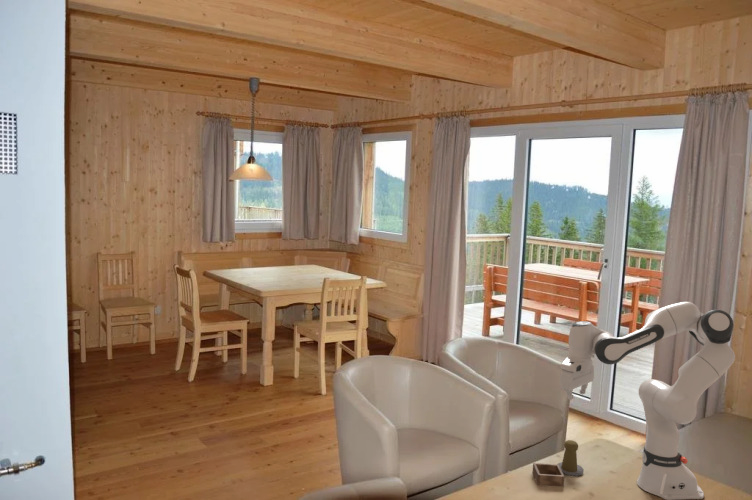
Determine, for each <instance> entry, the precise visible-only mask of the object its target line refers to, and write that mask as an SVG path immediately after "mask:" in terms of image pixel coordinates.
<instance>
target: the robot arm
mask: <svg viewBox="0 0 752 500" xmlns="http://www.w3.org/2000/svg"><path fill="white" fill-rule="evenodd" d="M687 331H688V332H689V334H690V335H692V337H693V338H694V339H695V340H696V342H697V343H699V344H700V345H702V346H703V347H702V348H701V349H700V350H699V351H698V352H696V353H695V354H694V355H693V356H692V357H690V358H689V360H687V361H686V362H685V363H684V364H683V365H681V366H680V367H679V369H678V371H677V373H678V374H677V375H678V378H677V380H675V382H674V384H673V385H670V384H667V383H666V382H664V381H662V380H659V379H653V378H649V379H646V380H644V381H642V382H641V384H640V385H639V387H638V396H639V398H640V401H641V403H642V406H643V411H644V417H645V425H646V434H645V444H644V445H645V446H643V452H642V466H641V469H640V472H639V476H638V478H637V480H636V484H637V486H638V487H639V488H640V489H641V490H643V491H645V492H648V494H649V493H650V494H652V495H655V496H658V497H660V498H662V499H663V500H696V499H697V500H702V499H704V497H705V496H704V495H705V494H704V491H703V490H702V488H701V487H700V486H699V485H698V481H697V477H696V476H695V474H694V473H693V472H692V471H691V470H690V469H689V468H688V467H687V466H686V464H687V463H688V462H689V461H688V458H686V457H685V456H683V455H682V454H681V453H680V452H679V445H680V431H679V429H678V427H677V424H679V425H687V424H689V423H692V422H693V421H694V420H695V419H696V417H697V412H698V409H697V408H698V407H697V406H698V402H699V399H700V398H701V396H702V395H703V393H704V392H705V391H706V390H707V389H708V388H710V387H711V386H712V385H713V384H714V383H715V382H716V381H718V380H719V379H720V378H721V377H722V376H723V375H724V374H725V373H726V372H727V371H728V370H729V369H730V367H732V365H733V364H734V363H735V360H736V354H735V351H734V350H733V348H732V347H731V346H729V344H728V343H729V342H731V338H732V334H733V331H734V320H733V318H732V316H731V315H730V313H728V312H726V311H724V310H722V309H711V310H709V311H707V312H705V313H703V312H701V311H700V309H699V307H698V306H697V305H696V304H694V303H693V302H692V301H681V302H676V303H671V304H669V305H665V306H662V307H660V308H657V309H655V310H653V311H651V312H649V313H648V314H647V315H646V317H645V320H644V324H643V326H642V327H641V328H640V329H638V330H635V331H633V332H631V333H628V334H626V335H624V336H621V337H615V336H614V334H612V333H611V332H609V331H607V330H605V329H601V328H599V327H597V326H595V325H594V324H593V323H592V322H591V321H587V320H586V321H585V320H584V321H583V320H582V321H576V322H574V323H572V324H571V327H570V330H569V333H568V347H569V348H568V350H567V357H565V359H564V360H563V361H562V362H561V363H560V365H559V367H560V368H559V369H560V370H561V371H560V376H559V387H560V389H561V390H563V391H565V393H566V395H567V396H566V397H567V398H566V399H567V400H569V401H571V400H573V399H574V394H573V391H574V390H575V389H577V388H580V389H579V394H580V395H585V394H586V390H587V388H588V385H589V383H592V382H593V381H594V379H595V365H594V364H593V360H592V355H595V356H596V358H597V359H598V360H599V361H600V362H601V363H602V364H604V365H616V364H618V363H619V362H620V361H622V360H623V359H624V358H625V357H626V356H628V355H630V354H631V353H633V352H636V351H638V350H641V349H643V348H646V347H648V346H650V345H652V344H655V343H656V342H659V341H660V340H663V339H666V338H668V337H672V336H675V335H678V334H680V333H683V332H687Z"/></svg>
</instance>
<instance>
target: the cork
mask: <svg viewBox="0 0 752 500" xmlns="http://www.w3.org/2000/svg"><path fill="white" fill-rule="evenodd" d="M563 445H564V449H565V450H564V454H563V458H562V461H561V462H562V466H561V468H562V469H563V470H565V471H567V472H576V471H577V465H578V459H577V457H578V455H577V451H578V449H579V443H578V442H577V441H576V440H573V439H567V440H566V441H564V444H563Z"/></svg>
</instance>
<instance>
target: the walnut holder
mask: <svg viewBox="0 0 752 500" xmlns="http://www.w3.org/2000/svg"><path fill="white" fill-rule="evenodd" d="M532 474H533V477H534V479H535V483H536V485H537V486H545V487H546V486H548V487H561V488H564V487H565V476H566V475H564V474H563V472H562V471H561V469H560V467H559V465H558V463H557V464H555V463H541V462H540V463H539V462H533V463H532Z"/></svg>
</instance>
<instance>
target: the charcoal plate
mask: <svg viewBox="0 0 752 500" xmlns="http://www.w3.org/2000/svg"><path fill="white" fill-rule="evenodd" d="M562 462H563V461H561V462H559V463H557V464H558V465H559V467H560V469H561V471H562V472H563V474H564V476H568V477H581V476H583V475H584V471H585V470H584V468H583V467H582V465H579V464H577V471H576V472H567V471H565V470H563V469H562V468H561V466H562Z"/></svg>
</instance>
